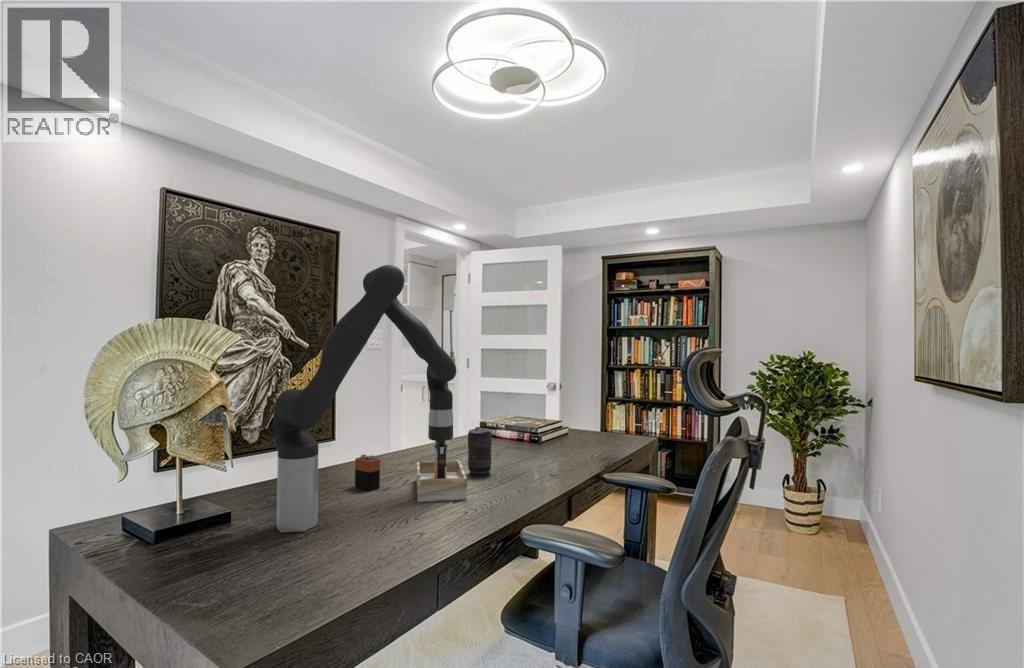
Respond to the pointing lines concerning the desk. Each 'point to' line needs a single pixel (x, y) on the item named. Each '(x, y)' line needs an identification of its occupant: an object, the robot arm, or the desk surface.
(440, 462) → the peg
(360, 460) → the battery
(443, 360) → the robot arm
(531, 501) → the desk surface
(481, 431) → the camera lens
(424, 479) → the box
